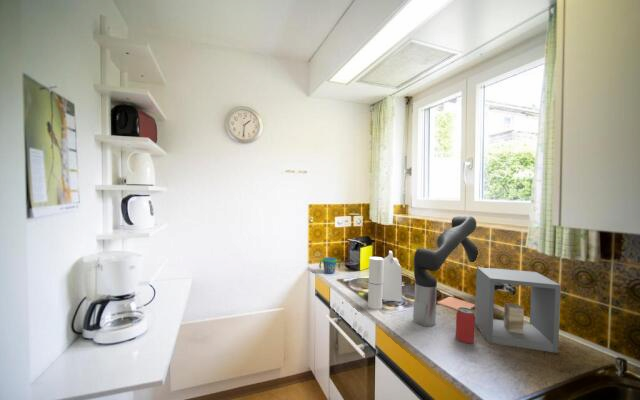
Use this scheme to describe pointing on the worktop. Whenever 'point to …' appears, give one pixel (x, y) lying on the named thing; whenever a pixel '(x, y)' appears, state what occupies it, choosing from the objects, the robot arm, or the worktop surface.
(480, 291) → the box
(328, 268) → the snack cup
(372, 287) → the cylindrical container
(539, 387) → the worktop surface
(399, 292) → the milk
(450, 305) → the terracotta mat
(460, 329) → the beer can
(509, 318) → the maple block
